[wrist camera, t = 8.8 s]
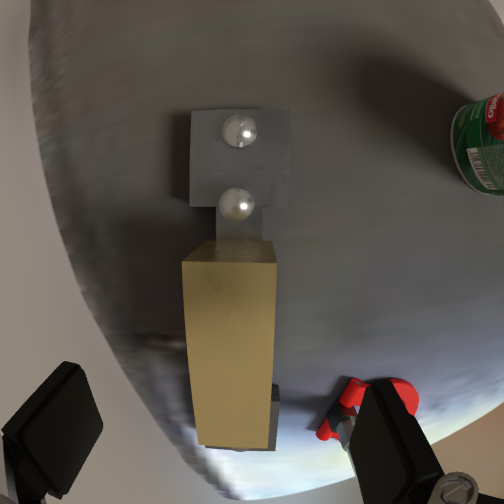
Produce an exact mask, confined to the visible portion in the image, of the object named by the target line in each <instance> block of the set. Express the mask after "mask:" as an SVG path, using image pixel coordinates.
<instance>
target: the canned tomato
mask: <svg viewBox="0 0 504 504" xmlns="http://www.w3.org/2000/svg"><path fill="white" fill-rule="evenodd" d="M450 142H451V150H452V154H453V158H454V161H455V164H456V166H457V169H458V171H459V172H460V174H461V176H462V178H463V179H464V180H465V182H466V183H467V184H468V185H469V186H470V187H471V188H472V189H473V190H475V191H477V192H478V193H481V194H485V195H503V196H504V92H503V93H501V94H497V95H495V96H491V97H489V98H485V99H483V100H479V101H477V102H475V103H472V104H467V105H465V106H463V107H461V108H460V109H459V110H458V111H457V112H456V114H455V116H454V118H453V121H452V124H451V130H450Z"/></svg>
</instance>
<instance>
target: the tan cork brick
mask: <svg viewBox="0 0 504 504" xmlns="http://www.w3.org/2000/svg"><path fill="white" fill-rule="evenodd" d="M276 277H277V261H276V257H275V253H274V248H273V244H272V241H246V240H206V241H205V242H203V243H202V244H201V245H200V246H199V247H198V248H196V249H195V250H194V251H193V252H192V253H191V254H190V255H188V256H187V257H186V258H185V259H184V260H183V261H182V281H183V299H184V315H185V329H186V341H187V353H188V363H189V373H190V382H191V391H192V400H193V408H194V416H195V423H196V430H197V437H198V444H199V445H207V446H219V447H235V448H268V436H269V421H270V405H271V388H272V370H273V351H274V329H275V305H276Z"/></svg>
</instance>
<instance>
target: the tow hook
mask: <svg viewBox="0 0 504 504" xmlns="http://www.w3.org/2000/svg"><path fill="white" fill-rule="evenodd" d="M389 380H391V381H392V383H393V385H394V387H395V388H396V390H397V392H398V394H399V396H400V397H401V399H402V401H403V403H404V405H405V407H406V408H407V410H408V412H409V414H412V415H413V416H414V415H415V413H416V410H417V408H418V403H419V397H418V393H417V391H416V390H415V389H414V387H413V386H412V385H411V383H409V382H407V381H405V380H401V379H389ZM367 386H370V384H365V383H364V382H363V381H361V380H360V379H357V378H352V379H351V381H350V382H349V384H348V386H347V387H346V389H345V390H344V392H343V394H342V395H341V397H340V398H338V399H337V401H336V402H335V404H334V405H333V407H332V408H331V410H330V411H329V413H328V414H327V418H326V419H325V420H324V422H323V423H322V425H321V426H320V427H319V429H318V430H317V432H316V436H317V437H318V438H319V439H320V440H323V441H326V440H328V439H329V438H330V437H332V438H338V440H339V441H340V442H341V445H342V448H343V449H344V450H345V451H346V452H347V453H348V456H349V459H350V462H351V465H352V468H353V471H354V473H355V476H356V479H357V482H358V478H357V475H356V471H355V467H354V463H353V459H352V456H351V452H350V448H349V441H350V437H351V434H352V431H353V428H354V425H355V422H356V419H357V416H358V414H357V412H356V410H355V407H354V405H356V406H361V402H362V399H363V396H364V392H365V389H366V387H367ZM358 485H359V482H358ZM359 488H360V486H359ZM360 491H361V490H360Z"/></svg>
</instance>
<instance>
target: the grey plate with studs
mask: <svg viewBox="0 0 504 504" xmlns="http://www.w3.org/2000/svg"><path fill="white" fill-rule="evenodd" d="M190 207H216V240H246V241H262V214H263V207H286V208H290V110H274V109H224V110H200V111H192V112H191V138H190ZM279 403H280V400H279V387H278V385H272V388H271V405H270V421H269V436H268V448H235V447H219V446H207V445H205V448H212V449H225V450H234V451H238V452H243V451H275V448H276V437H277V427H278V415H279Z"/></svg>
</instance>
